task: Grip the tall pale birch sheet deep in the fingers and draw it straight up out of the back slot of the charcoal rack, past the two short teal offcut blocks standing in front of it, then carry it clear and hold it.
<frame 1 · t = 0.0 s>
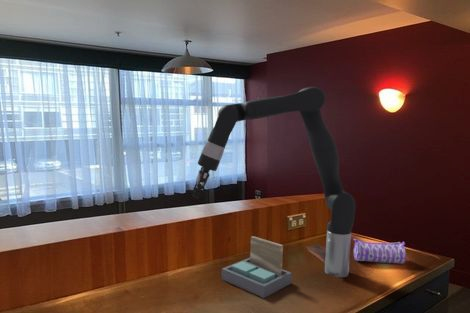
hand: (194, 195, 140), 31 cm above the kitchen counter, tool tilted 20°, fingers open, 8 cm apart
pencil case: (378, 262, 164), on the kitchen counter
birch sheet: (265, 276, 142), point 1 cm above the kitchen counter, touching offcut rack
offcut 1: (243, 279, 139), point 1 cm above the kitchen counter, touching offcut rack
offcut 2: (261, 286, 134), point 1 cm above the kitchen counter, touching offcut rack
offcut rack: (256, 284, 138), on the kitchen counter
wooden tablet: (325, 257, 169), on the kitchen counter
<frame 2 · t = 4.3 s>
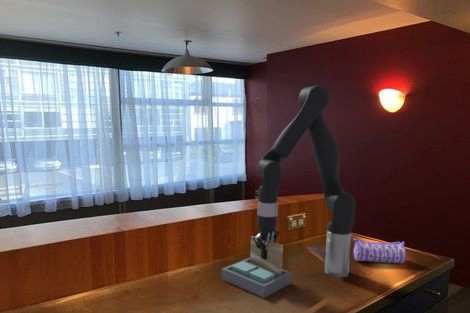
hand: (265, 258, 141), 9 cm above the kitchen counter, tool pointing down, fingers closed on birch sheet, 1 cm apart
birch sheet: (265, 276, 142), point 1 cm above the kitchen counter, touching gripper
everything else where it was.
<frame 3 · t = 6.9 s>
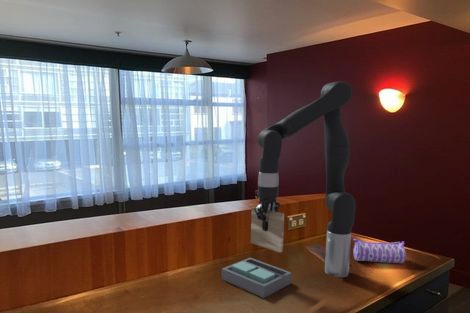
hand: (266, 229, 140), 19 cm above the kitchen counter, tool pointing down, fingers closed on birch sheet, 1 cm apart
birch sheet: (266, 247, 141), point 13 cm above the kitchen counter, touching gripper
everything else where it was.
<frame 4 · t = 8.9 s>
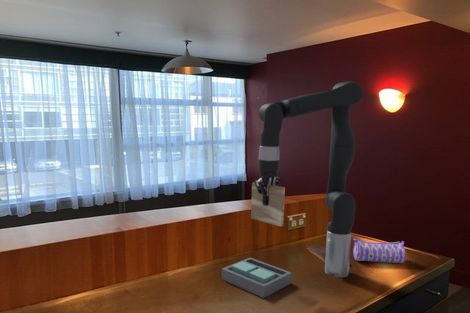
hand: (267, 204, 139), 29 cm above the kitchen counter, tool pointing down, fingers closed on birch sheet, 1 cm apart
birch sheet: (266, 222, 140), point 22 cm above the kitchen counter, touching gripper
everything else where it was.
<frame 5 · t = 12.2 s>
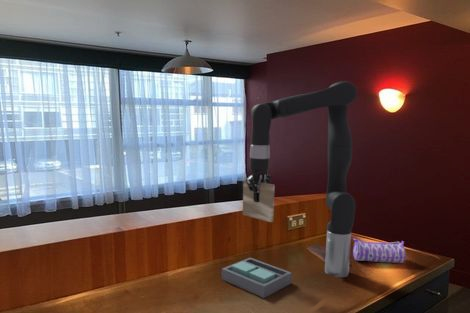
hand: (258, 201, 144), 29 cm above the kitchen counter, tool pointing down, fingers closed on birch sheet, 1 cm apart
birch sheet: (257, 218, 145), point 22 cm above the kitchen counter, touching gripper
everything else where it was.
at the end: birch sheet inside the target area (0.0 cm from its centre), point 22.4 cm above the kitchen counter; birch sheet touching gripper; offcut 2 moved 0.0 cm from its start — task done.
